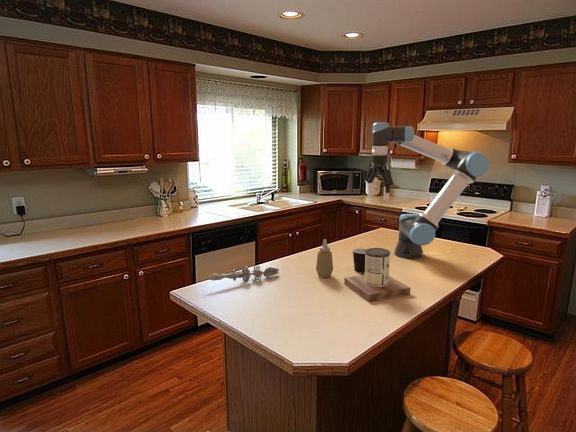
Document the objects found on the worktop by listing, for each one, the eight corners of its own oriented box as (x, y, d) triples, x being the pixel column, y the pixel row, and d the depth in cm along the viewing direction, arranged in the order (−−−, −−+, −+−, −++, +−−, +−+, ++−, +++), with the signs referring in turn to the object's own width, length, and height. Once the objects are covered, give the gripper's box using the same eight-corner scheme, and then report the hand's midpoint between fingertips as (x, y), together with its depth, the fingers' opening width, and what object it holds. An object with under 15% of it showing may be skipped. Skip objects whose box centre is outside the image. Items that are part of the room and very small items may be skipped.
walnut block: (382, 278, 176) (382, 272, 175) (410, 294, 157) (410, 287, 157) (344, 284, 169) (344, 277, 168) (368, 301, 151) (368, 294, 150)
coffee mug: (357, 266, 192) (358, 247, 190) (373, 269, 187) (373, 250, 185) (345, 272, 183) (346, 252, 181) (361, 276, 178) (362, 256, 176)
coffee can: (365, 277, 169) (366, 246, 166) (388, 279, 166) (390, 248, 163) (363, 285, 159) (364, 253, 156) (388, 288, 156) (390, 255, 154)
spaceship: (204, 269, 166) (209, 267, 160) (274, 263, 184) (281, 262, 177) (205, 287, 165) (211, 286, 158) (275, 280, 183) (283, 279, 176)
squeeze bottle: (320, 272, 184) (320, 236, 180) (335, 275, 180) (336, 238, 176) (312, 277, 177) (313, 240, 174) (328, 280, 173) (329, 242, 170)
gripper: (359, 154, 196) (358, 194, 200) (388, 156, 173) (386, 201, 177) (371, 153, 198) (370, 193, 203) (402, 155, 175) (400, 200, 180)
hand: (378, 197), depth 190 cm, fingers open, 13 cm apart
